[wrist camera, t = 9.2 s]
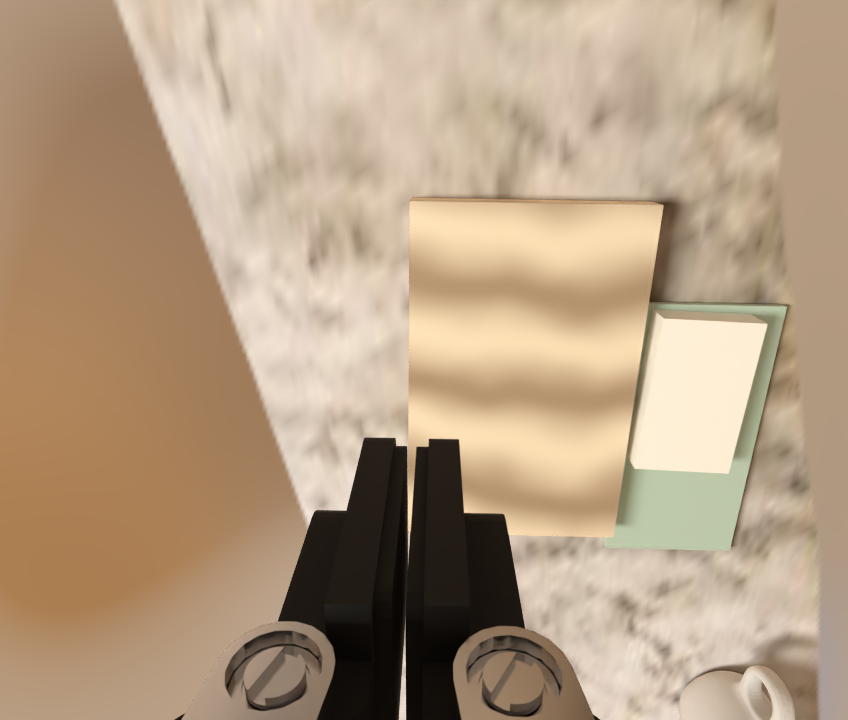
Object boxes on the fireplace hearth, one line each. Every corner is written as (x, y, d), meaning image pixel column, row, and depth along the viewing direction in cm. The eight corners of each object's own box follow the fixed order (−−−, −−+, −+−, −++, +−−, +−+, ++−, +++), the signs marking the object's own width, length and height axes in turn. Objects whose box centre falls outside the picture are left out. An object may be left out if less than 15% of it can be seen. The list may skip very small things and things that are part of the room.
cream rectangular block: (652, 309, 36) (664, 318, 34) (750, 314, 36) (767, 323, 34) (625, 453, 40) (634, 468, 38) (714, 458, 40) (728, 473, 38)
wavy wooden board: (411, 197, 35) (409, 201, 33) (651, 201, 34) (663, 205, 33) (409, 514, 42) (408, 532, 41) (605, 519, 42) (613, 537, 40)
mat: (638, 301, 37) (641, 303, 36) (782, 304, 36) (787, 306, 36) (603, 543, 43) (605, 547, 42) (726, 546, 43) (729, 550, 42)
